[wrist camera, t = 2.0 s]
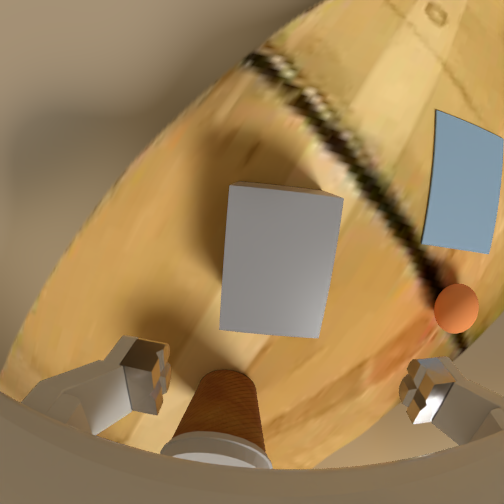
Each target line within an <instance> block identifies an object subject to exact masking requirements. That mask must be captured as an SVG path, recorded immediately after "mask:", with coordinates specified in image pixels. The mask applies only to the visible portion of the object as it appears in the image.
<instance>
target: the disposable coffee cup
mask: <svg viewBox="0 0 504 504" xmlns="http://www.w3.org/2000/svg"><path fill="white" fill-rule="evenodd" d="M256 394H257V393H256V388H255V385H254V384H253V382H252V381H251V380H250V379H249V378H248V377H247V376H245V375H243V374H241V373H239V372H236V371H231V370H217V371H213V372H211V373H209V374H207V375H206V376H204V377H203V379H202V380H201V382H200V384H199V386H198V388H197V390H196V392H195V394H194V396H193V398H192V400H191V402H190V404H189V406H188V408H187V410H186V412H185V414H184V416H183V418H182V420H181V422H180V424H179V426H178V428H177V430H176V432H175V433H174V436H173V437H172V439H171V440H170V441H169V442H168V443H166V444H165V445H164V447H163V448H162V450H161V452H160V454H162V455H166V456H171V457H176V458H181V459H186V460H192V461H198V462H204V463H211V464H219V465H227V466H236V467H248V468H263V469H273V468H272V464H271V461H270V460H269V458H268V456H267V454H266V453H265V452H266V451H265V445H264V439H263V433H262V428H261V427H262V426H261V420H260V415H259V414H260V413H259V407H258V400H257V395H256Z"/></svg>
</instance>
